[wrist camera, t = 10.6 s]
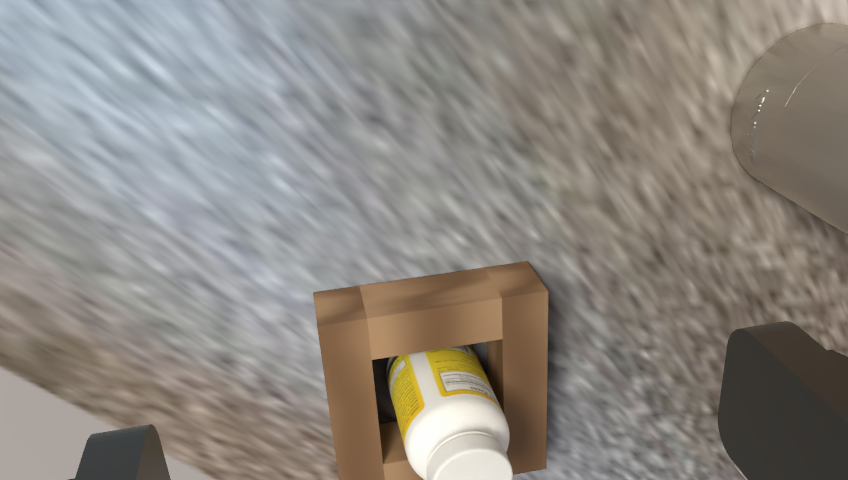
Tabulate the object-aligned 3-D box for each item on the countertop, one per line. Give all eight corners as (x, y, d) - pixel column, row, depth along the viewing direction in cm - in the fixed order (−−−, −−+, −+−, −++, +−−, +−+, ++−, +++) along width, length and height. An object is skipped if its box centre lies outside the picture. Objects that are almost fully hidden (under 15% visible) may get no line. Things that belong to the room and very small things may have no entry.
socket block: (527, 261, 43) (548, 291, 39) (527, 430, 48) (546, 468, 45) (313, 292, 41) (317, 326, 38) (337, 464, 46) (343, 506, 43)
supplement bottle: (408, 417, 46) (442, 543, 37) (369, 352, 43) (396, 470, 34) (489, 378, 46) (542, 495, 37) (454, 310, 43) (503, 418, 34)
